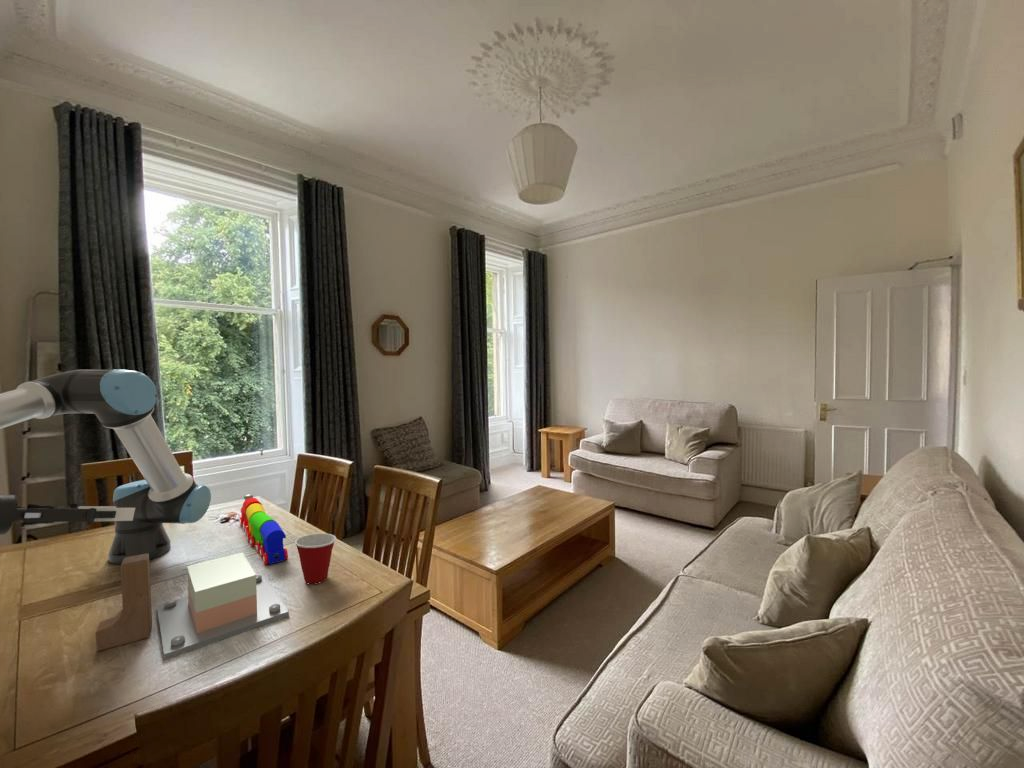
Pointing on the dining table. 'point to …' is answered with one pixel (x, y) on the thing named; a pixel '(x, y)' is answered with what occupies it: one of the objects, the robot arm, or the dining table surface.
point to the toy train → (262, 531)
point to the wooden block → (129, 606)
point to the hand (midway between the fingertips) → (123, 513)
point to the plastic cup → (315, 556)
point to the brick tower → (218, 605)
